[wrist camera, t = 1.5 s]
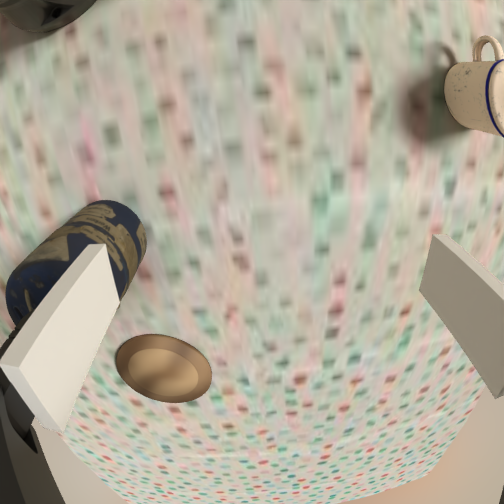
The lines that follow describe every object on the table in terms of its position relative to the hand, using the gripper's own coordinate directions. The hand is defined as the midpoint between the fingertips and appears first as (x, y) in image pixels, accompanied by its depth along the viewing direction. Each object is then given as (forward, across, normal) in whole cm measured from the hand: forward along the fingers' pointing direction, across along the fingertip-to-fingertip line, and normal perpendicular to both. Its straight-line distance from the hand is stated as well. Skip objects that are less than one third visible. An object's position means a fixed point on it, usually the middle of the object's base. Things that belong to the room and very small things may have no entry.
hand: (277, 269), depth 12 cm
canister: (+23, -17, -8) cm, 30 cm away
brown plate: (+23, -14, -31) cm, 41 cm away
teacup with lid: (+23, +27, +11) cm, 37 cm away
